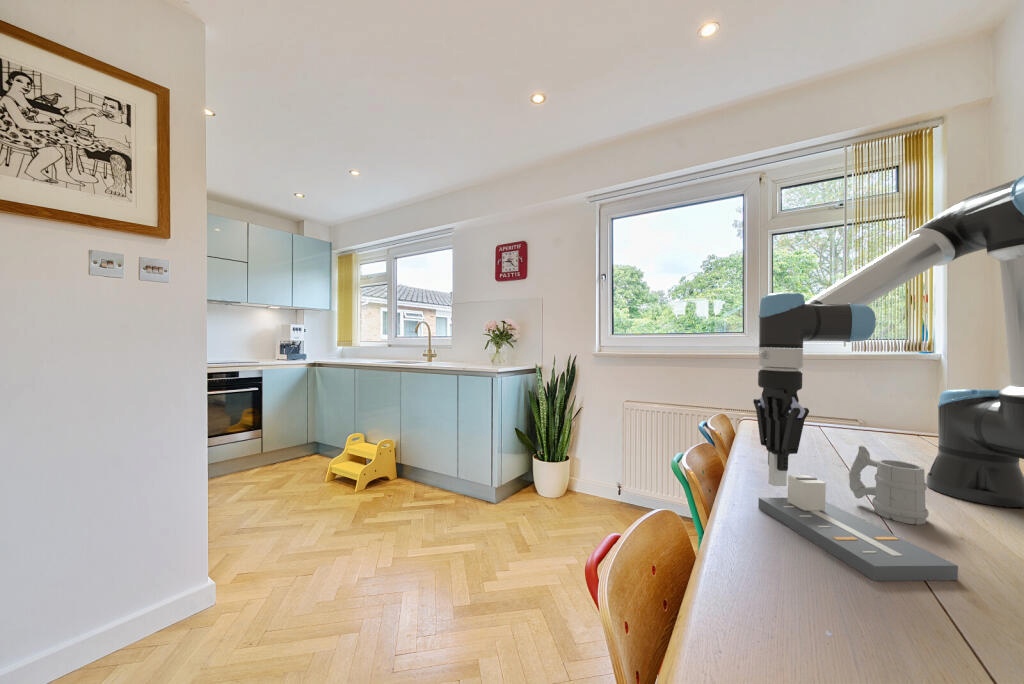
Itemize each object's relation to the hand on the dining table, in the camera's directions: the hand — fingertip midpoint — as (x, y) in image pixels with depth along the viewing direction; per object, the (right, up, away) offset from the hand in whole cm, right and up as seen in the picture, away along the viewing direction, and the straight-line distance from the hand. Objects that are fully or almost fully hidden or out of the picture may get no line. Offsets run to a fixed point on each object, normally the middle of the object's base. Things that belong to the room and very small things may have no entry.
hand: (777, 484), depth 82 cm
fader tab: (0, -1, -8) cm, 8 cm away
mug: (+18, -4, -4) cm, 19 cm away
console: (+1, -4, -15) cm, 15 cm away
